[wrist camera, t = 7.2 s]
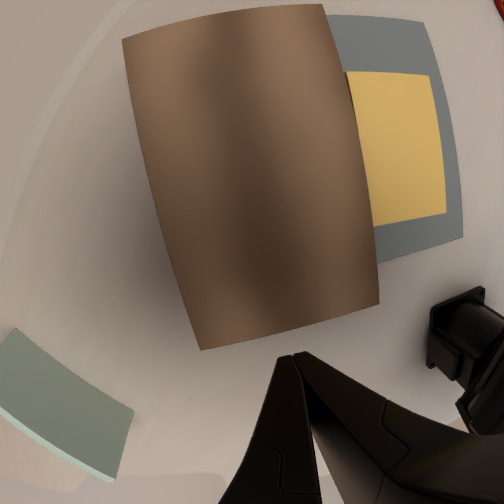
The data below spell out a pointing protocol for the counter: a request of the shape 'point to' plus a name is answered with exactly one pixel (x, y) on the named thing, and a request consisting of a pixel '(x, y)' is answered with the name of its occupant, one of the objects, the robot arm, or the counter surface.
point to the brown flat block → (255, 170)
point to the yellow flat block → (399, 144)
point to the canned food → (500, 7)
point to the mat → (424, 63)
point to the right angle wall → (61, 408)
